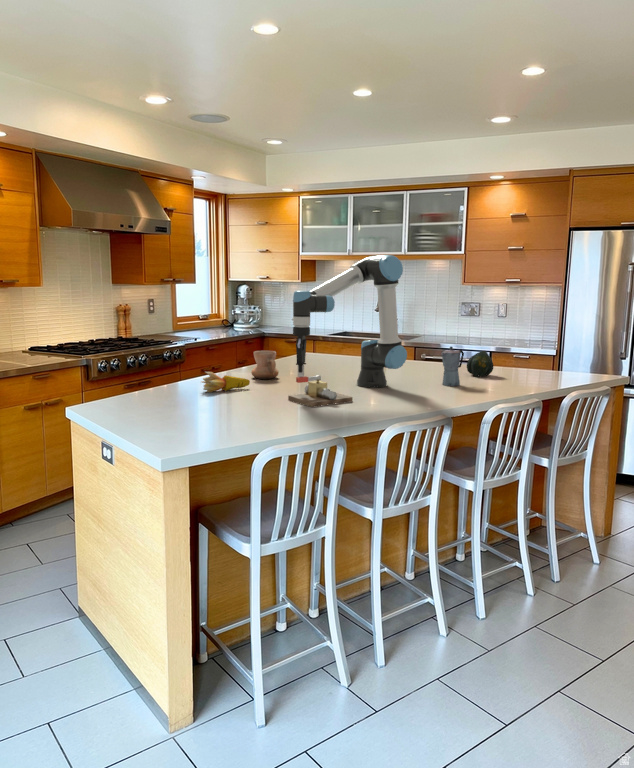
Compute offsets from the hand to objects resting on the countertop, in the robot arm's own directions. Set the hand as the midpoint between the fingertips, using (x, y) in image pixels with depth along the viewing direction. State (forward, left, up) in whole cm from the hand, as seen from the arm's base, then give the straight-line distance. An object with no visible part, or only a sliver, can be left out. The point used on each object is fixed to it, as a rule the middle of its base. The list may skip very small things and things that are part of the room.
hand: (300, 379), depth 275 cm
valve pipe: (-5, +8, -8) cm, 12 cm away
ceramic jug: (-16, -56, -9) cm, 59 cm away
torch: (+18, -36, -9) cm, 41 cm away
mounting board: (-5, +8, -9) cm, 13 cm away
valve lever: (0, +6, 0) cm, 6 cm away
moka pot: (-87, +11, -9) cm, 88 cm away
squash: (-124, -1, -9) cm, 125 cm away
